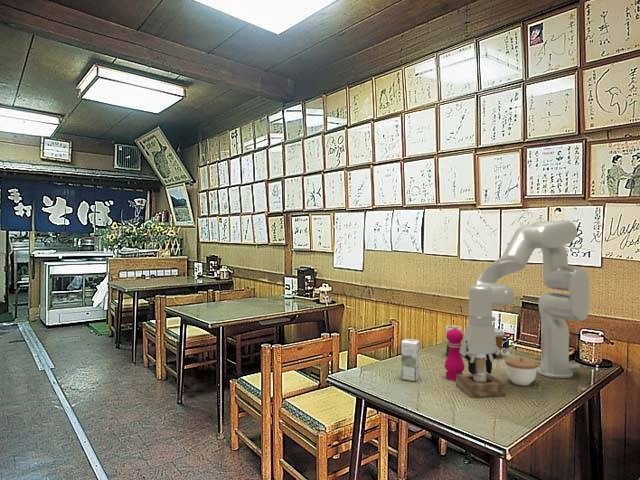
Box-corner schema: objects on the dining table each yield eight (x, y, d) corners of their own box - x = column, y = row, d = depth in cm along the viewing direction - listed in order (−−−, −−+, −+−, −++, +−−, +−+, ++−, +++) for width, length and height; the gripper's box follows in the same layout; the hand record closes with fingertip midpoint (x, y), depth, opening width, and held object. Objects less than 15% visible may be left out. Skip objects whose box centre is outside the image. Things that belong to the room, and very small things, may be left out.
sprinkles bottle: (471, 390, 153) (470, 351, 153) (476, 386, 156) (475, 348, 156) (484, 392, 150) (483, 353, 150) (489, 388, 153) (488, 350, 153)
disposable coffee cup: (479, 353, 200) (479, 327, 200) (501, 354, 199) (501, 327, 199) (483, 359, 191) (484, 331, 191) (506, 360, 189) (507, 332, 189)
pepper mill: (465, 381, 162) (465, 327, 162) (445, 380, 164) (445, 326, 163) (463, 375, 169) (463, 323, 169) (443, 374, 171) (444, 323, 170)
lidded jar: (523, 389, 154) (524, 363, 154) (498, 380, 164) (498, 355, 163) (543, 384, 159) (543, 359, 159) (518, 376, 168) (518, 351, 168)
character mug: (455, 360, 189) (456, 330, 189) (440, 357, 194) (440, 328, 194) (465, 355, 198) (466, 326, 197) (450, 352, 202) (450, 324, 202)
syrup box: (419, 377, 167) (419, 339, 167) (416, 382, 161) (416, 343, 161) (404, 375, 169) (404, 338, 169) (400, 380, 164) (401, 341, 164)
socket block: (487, 384, 160) (487, 373, 160) (505, 396, 148) (505, 384, 148) (456, 385, 158) (456, 374, 158) (471, 397, 146) (471, 385, 146)
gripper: (497, 318, 157) (497, 368, 158) (452, 319, 155) (452, 370, 156) (509, 322, 150) (509, 375, 150) (461, 323, 148) (461, 377, 148)
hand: (480, 372), depth 153 cm, fingers open, 5 cm apart
